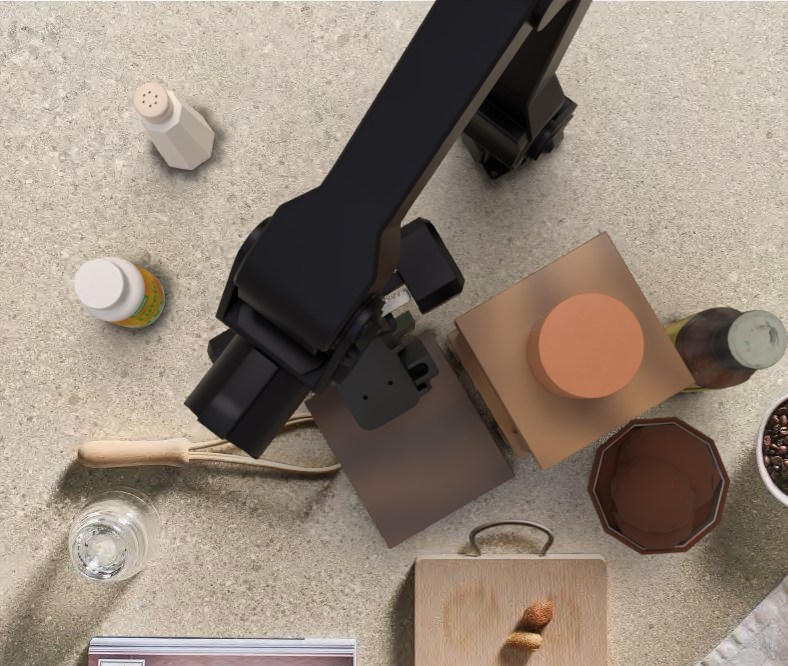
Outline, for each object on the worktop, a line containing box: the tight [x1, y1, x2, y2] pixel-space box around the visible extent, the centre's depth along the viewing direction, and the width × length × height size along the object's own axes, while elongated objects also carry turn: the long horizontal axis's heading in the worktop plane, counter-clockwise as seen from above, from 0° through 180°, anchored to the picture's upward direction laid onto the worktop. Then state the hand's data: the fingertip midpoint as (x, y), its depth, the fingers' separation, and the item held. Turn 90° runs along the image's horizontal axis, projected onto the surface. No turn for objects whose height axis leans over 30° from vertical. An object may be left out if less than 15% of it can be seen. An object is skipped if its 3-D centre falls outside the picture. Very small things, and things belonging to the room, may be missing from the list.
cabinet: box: [303, 328, 516, 550], centre depth 74 cm, size 14×12×9 cm
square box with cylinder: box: [445, 230, 695, 472], centre depth 67 cm, size 11×11×24 cm
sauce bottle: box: [663, 306, 788, 393], centre depth 68 cm, size 7×6×20 cm
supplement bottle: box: [73, 255, 166, 329], centre depth 74 cm, size 5×5×10 cm
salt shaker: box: [132, 81, 216, 171], centre depth 74 cm, size 5×5×11 cm
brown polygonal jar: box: [586, 416, 731, 556], centre depth 71 cm, size 11×11×15 cm
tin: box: [527, 293, 644, 399], centre depth 52 cm, size 6×6×5 cm
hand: (345, 326), depth 72 cm, fingers closed
